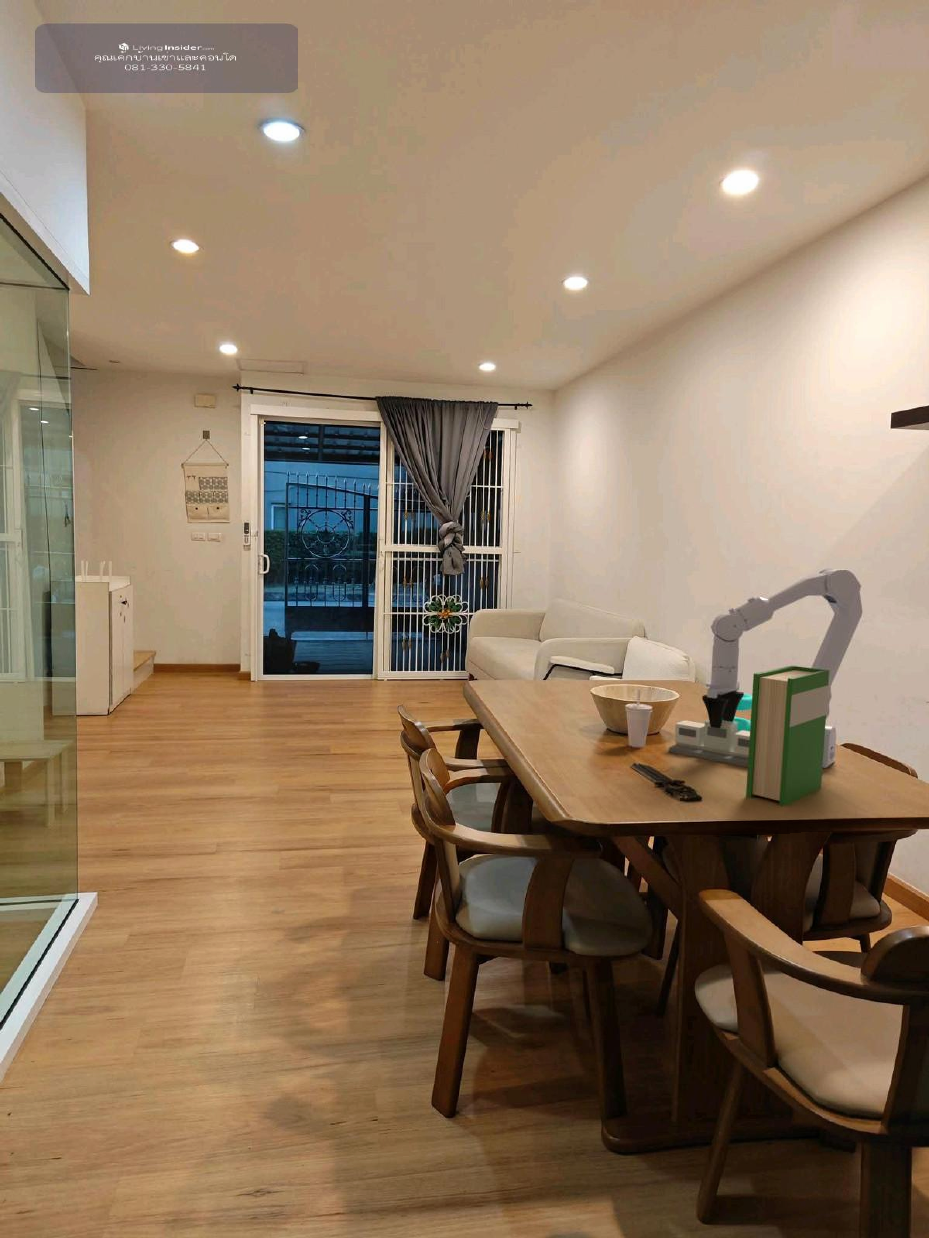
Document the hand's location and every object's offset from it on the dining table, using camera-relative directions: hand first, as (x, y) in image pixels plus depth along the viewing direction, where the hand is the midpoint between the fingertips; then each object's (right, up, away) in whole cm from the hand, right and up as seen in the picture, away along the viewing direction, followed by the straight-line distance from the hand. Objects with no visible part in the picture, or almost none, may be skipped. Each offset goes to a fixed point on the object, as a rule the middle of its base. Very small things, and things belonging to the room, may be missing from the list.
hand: (721, 724), depth 176 cm
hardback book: (+4, -10, -26) cm, 28 cm away
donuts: (+12, -6, +24) cm, 28 cm away
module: (0, -5, +1) cm, 5 cm away
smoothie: (-18, -6, +7) cm, 20 cm away
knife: (-20, -9, -21) cm, 30 cm away
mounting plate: (0, -7, +1) cm, 7 cm away
